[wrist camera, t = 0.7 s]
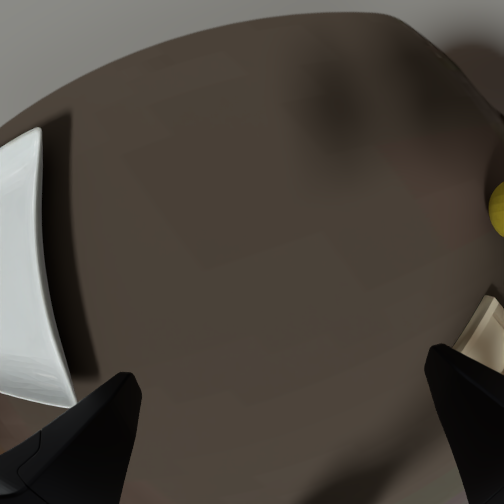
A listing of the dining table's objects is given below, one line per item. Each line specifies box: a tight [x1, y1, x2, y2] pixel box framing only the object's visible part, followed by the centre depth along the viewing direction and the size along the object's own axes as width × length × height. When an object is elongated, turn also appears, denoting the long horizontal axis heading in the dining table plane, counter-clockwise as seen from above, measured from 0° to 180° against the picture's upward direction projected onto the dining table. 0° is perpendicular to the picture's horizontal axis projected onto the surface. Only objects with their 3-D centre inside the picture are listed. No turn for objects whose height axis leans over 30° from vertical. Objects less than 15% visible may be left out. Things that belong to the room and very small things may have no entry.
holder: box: [427, 295, 504, 382], centre depth 21 cm, size 10×10×2 cm
